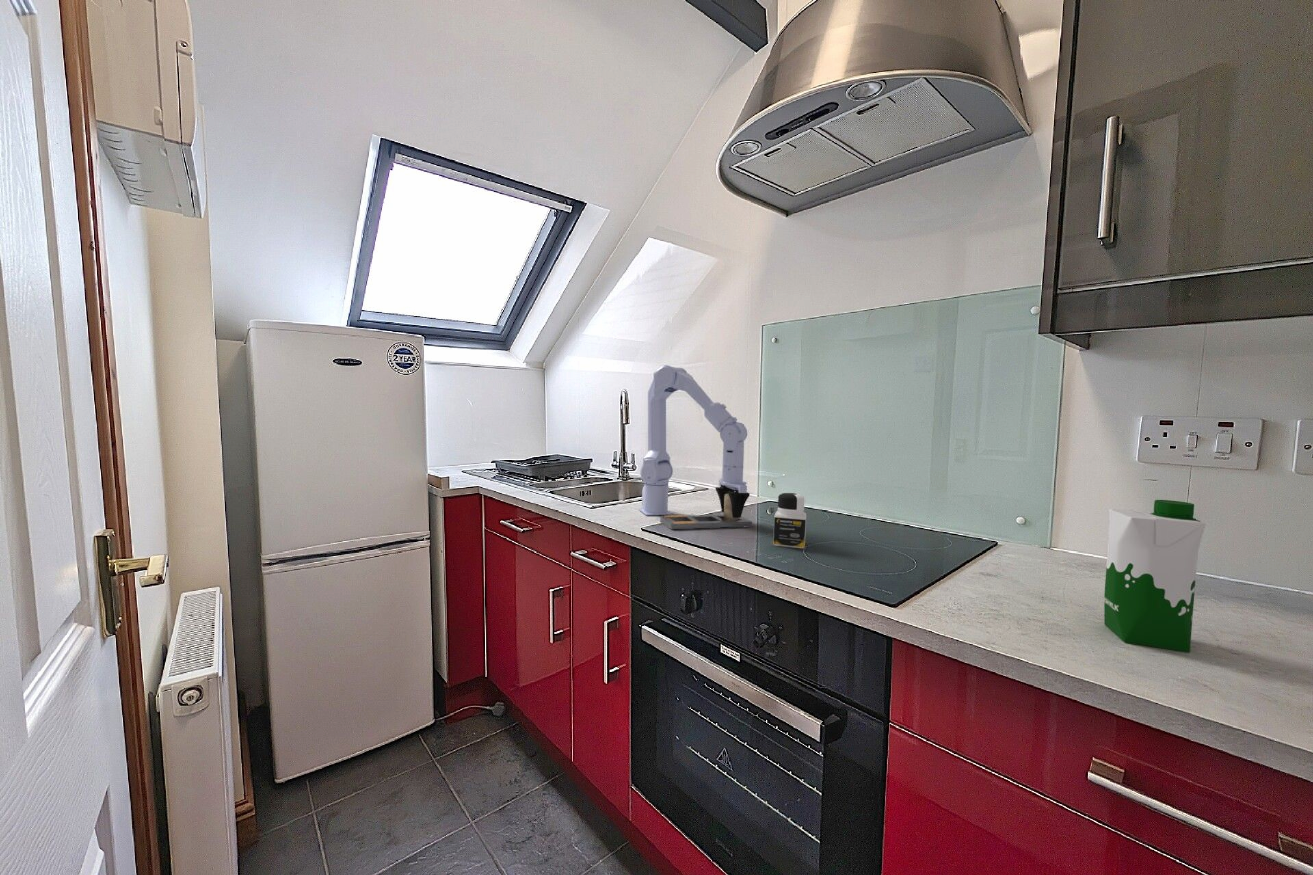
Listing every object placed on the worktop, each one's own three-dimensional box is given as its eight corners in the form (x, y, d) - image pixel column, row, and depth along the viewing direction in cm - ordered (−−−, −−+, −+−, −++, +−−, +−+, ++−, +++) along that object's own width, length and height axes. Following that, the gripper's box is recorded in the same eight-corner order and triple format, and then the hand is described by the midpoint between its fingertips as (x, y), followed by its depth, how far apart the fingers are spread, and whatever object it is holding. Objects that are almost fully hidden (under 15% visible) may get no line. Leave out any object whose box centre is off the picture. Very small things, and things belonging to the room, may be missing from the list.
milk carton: (1202, 657, 70) (1215, 508, 69) (1117, 643, 73) (1128, 502, 72) (1168, 632, 78) (1179, 499, 77) (1093, 621, 81) (1102, 493, 80)
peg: (721, 522, 147) (722, 494, 147) (734, 521, 148) (735, 493, 148) (727, 525, 143) (728, 496, 143) (740, 524, 144) (741, 496, 144)
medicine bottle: (772, 545, 122) (775, 494, 122) (775, 538, 129) (777, 490, 129) (804, 548, 120) (806, 497, 120) (805, 541, 127) (807, 492, 127)
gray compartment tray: (660, 521, 145) (660, 515, 145) (736, 519, 151) (736, 513, 151) (671, 529, 136) (671, 523, 135) (751, 526, 142) (752, 520, 142)
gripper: (757, 469, 139) (756, 519, 140) (735, 463, 153) (733, 509, 153) (733, 469, 137) (731, 520, 138) (712, 463, 151) (711, 510, 152)
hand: (731, 514), depth 145 cm, fingers open, 7 cm apart
